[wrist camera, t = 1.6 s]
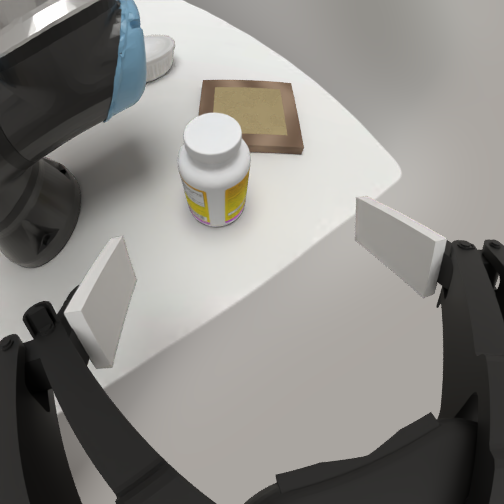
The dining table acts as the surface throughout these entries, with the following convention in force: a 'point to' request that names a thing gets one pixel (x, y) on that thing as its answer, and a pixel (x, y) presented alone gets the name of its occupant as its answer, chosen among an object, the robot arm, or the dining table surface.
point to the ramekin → (158, 55)
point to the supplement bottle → (214, 168)
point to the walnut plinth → (257, 112)
